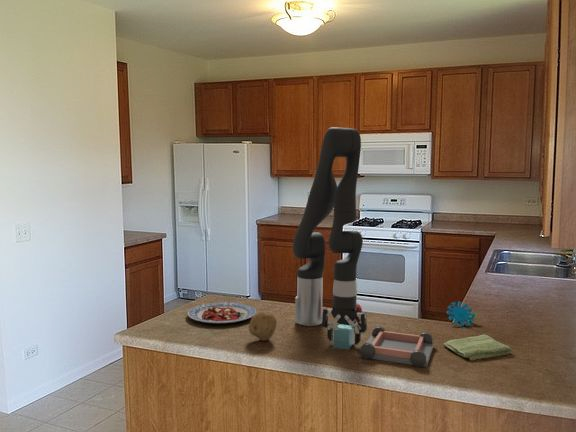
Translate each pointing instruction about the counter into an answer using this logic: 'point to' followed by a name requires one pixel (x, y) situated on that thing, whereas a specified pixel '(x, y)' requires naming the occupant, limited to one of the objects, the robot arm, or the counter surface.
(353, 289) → the robot arm
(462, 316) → the gear
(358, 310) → the fruit
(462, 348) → the washcloth
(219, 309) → the ceramic plate
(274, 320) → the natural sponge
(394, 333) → the chassis
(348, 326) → the teal glassy cube
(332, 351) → the counter surface
